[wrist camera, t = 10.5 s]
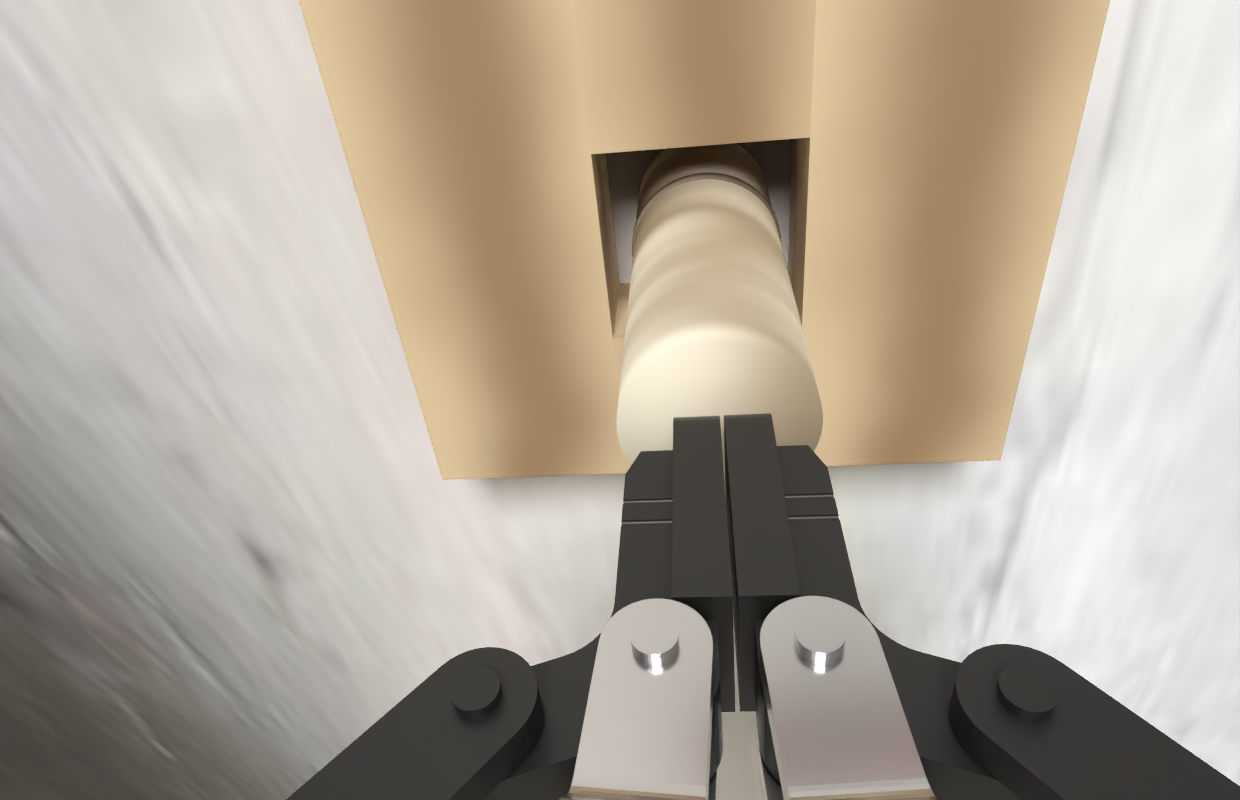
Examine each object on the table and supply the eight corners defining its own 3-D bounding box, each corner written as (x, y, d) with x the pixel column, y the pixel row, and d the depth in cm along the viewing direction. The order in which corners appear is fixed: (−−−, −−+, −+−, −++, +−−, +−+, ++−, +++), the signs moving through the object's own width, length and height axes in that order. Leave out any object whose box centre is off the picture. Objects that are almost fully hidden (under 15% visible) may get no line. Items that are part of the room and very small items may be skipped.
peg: (642, 262, 22) (623, 507, 14) (631, 138, 20) (602, 342, 12) (767, 254, 22) (821, 500, 14) (768, 127, 20) (832, 329, 12)
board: (464, 419, 26) (442, 479, 24) (335, -72, 18) (281, -56, 16) (967, 397, 24) (1000, 460, 22) (1075, -153, 16) (1146, -150, 14)
